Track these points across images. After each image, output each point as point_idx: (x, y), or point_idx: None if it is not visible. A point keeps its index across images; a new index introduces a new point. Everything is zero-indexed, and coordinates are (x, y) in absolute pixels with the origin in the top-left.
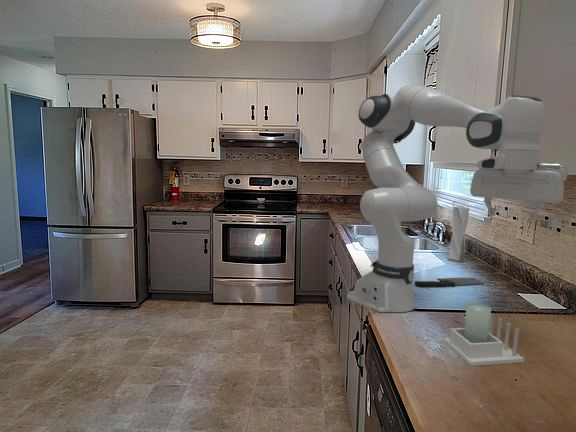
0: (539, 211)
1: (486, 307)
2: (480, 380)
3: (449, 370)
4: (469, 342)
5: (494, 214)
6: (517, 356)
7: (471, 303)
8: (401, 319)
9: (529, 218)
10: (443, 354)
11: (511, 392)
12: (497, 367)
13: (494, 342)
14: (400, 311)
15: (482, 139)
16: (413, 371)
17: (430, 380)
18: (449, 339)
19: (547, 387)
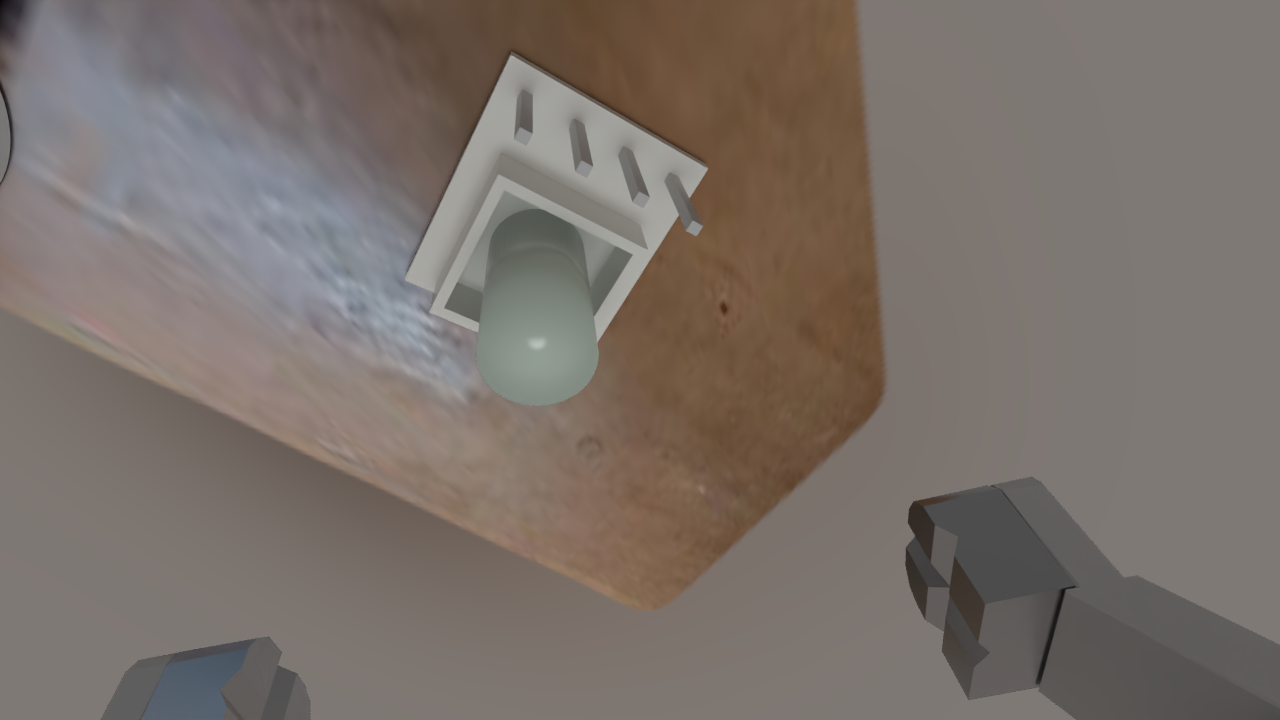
0: (1173, 601)
1: (565, 329)
2: (649, 397)
3: (558, 423)
4: None
5: (279, 671)
6: (683, 175)
7: (484, 341)
8: (106, 230)
9: (920, 592)
10: None
11: (738, 382)
12: (651, 283)
13: (622, 280)
14: (3, 163)
15: None
16: (497, 504)
17: (557, 501)
18: (435, 286)
19: (811, 271)
